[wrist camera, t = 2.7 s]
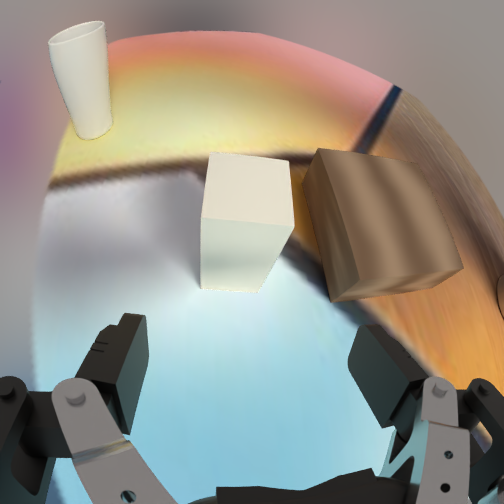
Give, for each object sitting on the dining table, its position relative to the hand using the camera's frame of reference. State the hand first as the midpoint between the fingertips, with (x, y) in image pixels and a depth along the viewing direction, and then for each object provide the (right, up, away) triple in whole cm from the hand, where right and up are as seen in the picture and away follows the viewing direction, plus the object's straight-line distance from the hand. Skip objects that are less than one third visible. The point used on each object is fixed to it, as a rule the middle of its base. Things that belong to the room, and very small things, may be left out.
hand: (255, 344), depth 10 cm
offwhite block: (-2, +2, +16) cm, 16 cm away
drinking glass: (-21, +20, +22) cm, 36 cm away
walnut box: (+13, +5, +21) cm, 25 cm away
